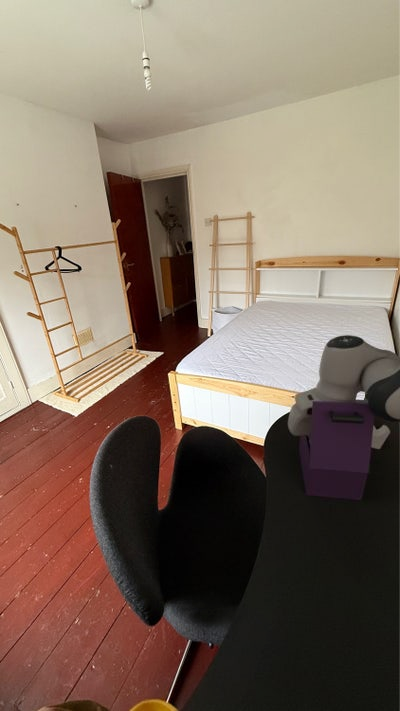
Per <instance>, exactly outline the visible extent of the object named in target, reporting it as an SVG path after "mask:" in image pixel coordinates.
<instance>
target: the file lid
mask: <svg viewBox="0 0 400 711" xmlns="http://www.w3.org/2000/svg"><path fill="white" fill-rule="evenodd" d="M375 416H376V415H375V414H373V412H372V411H371V410H370V408H369V404H368V403H352V402H327V401H313V404H312V422H311V441H310V459H309V468H311V469H323V470H335V471H347V472H359V473H367V474H369V473H370V464H371V453H372V447H371V445H372V435H373V426H374V427H375V425H374V424H375Z"/></svg>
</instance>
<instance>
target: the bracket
mask: <svg viewBox="0 0 400 711" xmlns="http://www.w3.org/2000/svg"><path fill="white" fill-rule="evenodd" d="M390 434H391V430H390V429H389V427H388V425H385V424H383V425H382V426H380V427H379V428H378V429H376V427H375V425H374V426H373V435H372V445H371V449H377V450H381V448H382V447H383V445H384V443H385V441H386V440H387V439H388V437H389V435H390Z"/></svg>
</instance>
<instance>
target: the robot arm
mask: <svg viewBox="0 0 400 711" xmlns="http://www.w3.org/2000/svg"><path fill="white" fill-rule="evenodd" d="M318 376H319V378H318V382H317V384H316V386H315V387H313V388H310V389H308V390H304V391H302V392H299V393H296V394H295V395H294V402H295V403H294V404H293V405H292V406H291V408H290V410H289V414H288V419H287V427H288V428H287V429H288V430H289V432H290V434H291V435H292V436H294V437H298V436H299V437H300V436H304V435H307V436H308V438H309V445H310V441H311V422H312V404H313V401H327V402H352V403H368V404H369V408H370V410H371V411H372V412H373V414H375V416H376V417H377V418H379V419H381V420H384V421H389V422H392V423H393V422H396V423H400V356H399V355H398V354H397V353H395V352H393V351H392V350H388V349H381V348H378V347H376V346H374V345H372V344H370V343H368V342H367V341H365V340H364V339H363V338H362V337H359V336H357V335H350V334H345V335H339V336H335V337H333V338H331V339H330V340H328V342H327V343H326V344H325V345H324V348H323V351H322V354H321V356H320V362H319V368H318ZM361 392H362V393H364V395H365V398H366V399H357V396H358V393H361Z"/></svg>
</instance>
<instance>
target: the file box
mask: <svg viewBox="0 0 400 711" xmlns="http://www.w3.org/2000/svg"><path fill="white" fill-rule="evenodd" d="M298 446H299V447H298V451H299V458H300V465H301V470H302V476H303V484H304V491H305V495H306V496H312V497H322V498H331V499H341V500H342V499H343V500H353V501H362V500H363V496H364V491H365V487H366V483H367V478H368V473H359V472H347V471H335V470H323V469H311V468H309V459H310V445H309V438H308V436H307V435H304V436H299V445H298Z"/></svg>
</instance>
